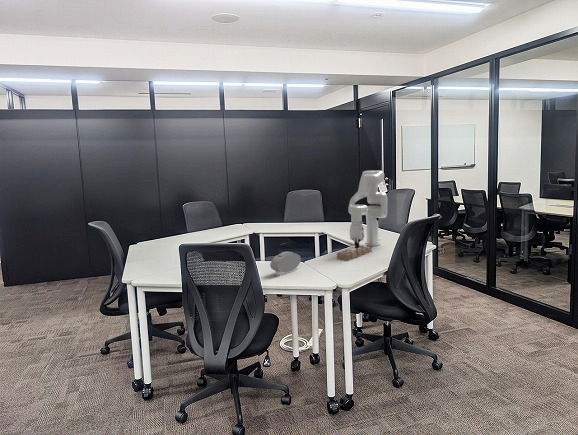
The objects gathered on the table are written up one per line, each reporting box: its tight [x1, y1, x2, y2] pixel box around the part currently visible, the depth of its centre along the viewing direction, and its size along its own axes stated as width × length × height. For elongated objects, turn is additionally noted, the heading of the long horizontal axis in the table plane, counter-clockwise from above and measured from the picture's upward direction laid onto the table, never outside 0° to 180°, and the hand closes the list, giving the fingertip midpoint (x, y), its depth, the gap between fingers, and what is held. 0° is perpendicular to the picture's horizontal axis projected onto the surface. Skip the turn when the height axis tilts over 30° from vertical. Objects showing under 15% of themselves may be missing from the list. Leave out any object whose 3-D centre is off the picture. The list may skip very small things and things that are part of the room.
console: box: [336, 246, 373, 261], centre depth 310 cm, size 32×10×4 cm, turn 141°
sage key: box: [359, 243, 367, 248], centre depth 318 cm, size 5×5×3 cm
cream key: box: [345, 247, 356, 252], centre depth 306 cm, size 5×5×3 cm
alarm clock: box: [269, 251, 302, 276], centre depth 269 cm, size 23×6×13 cm, turn 141°
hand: (356, 247), depth 312 cm, fingers closed
